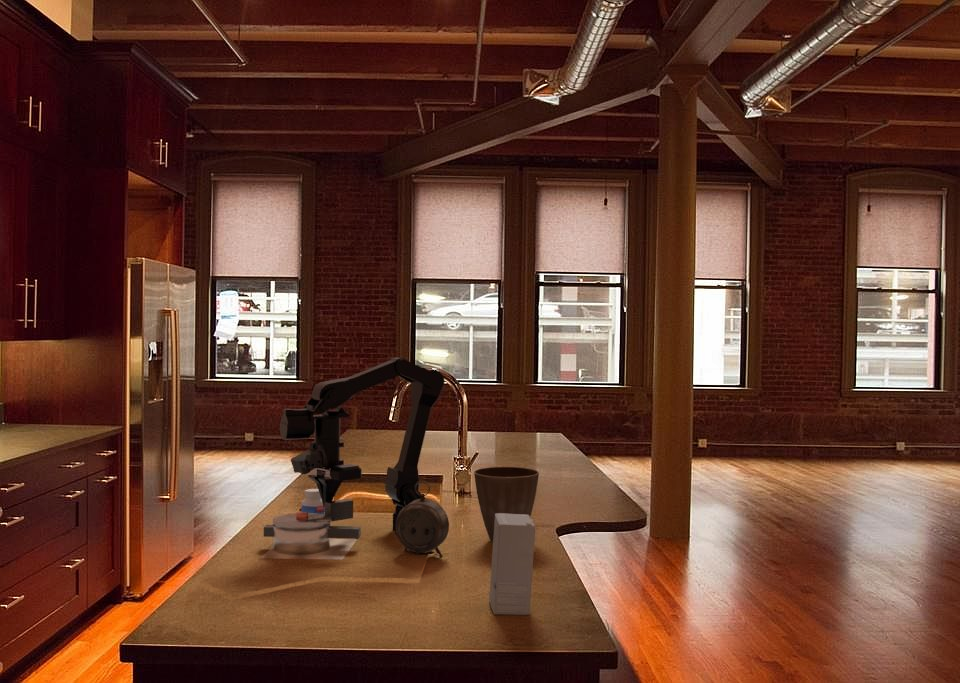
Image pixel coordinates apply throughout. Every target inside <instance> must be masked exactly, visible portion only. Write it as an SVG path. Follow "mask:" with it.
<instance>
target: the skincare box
mask: <svg viewBox="0 0 960 683" xmlns="http://www.w3.org/2000/svg"><path fill="white" fill-rule="evenodd" d="M533 521H534V519H533V518H531V516H529V515H525V514H507V513H496V514H495V523H494V537H493V542H492V551H491V553H492V554H491V567H490V583H489V584H490V585H489V595H488V597H489V598H488V599H489V604H490V607H491V611H492V613H493V615H517V616H519V615H520V616H522V615H523V616H525V615H530V614H531V601H532V600H531V599H532V598H531V597H532V584H533V583H532V582H533V568H534V554H535V542H536V540H535V538H536V525H535V524H534V522H533Z"/></svg>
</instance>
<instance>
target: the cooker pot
mask: <svg viewBox="0 0 960 683" xmlns="http://www.w3.org/2000/svg"><path fill="white" fill-rule="evenodd" d="M361 528H362V527H361V526H347V525H346V526H345V525H343V526H342V525H341V526H340V525H331V524H330V525H329V526H326V527H322V528H317V529H308V530H288V529H281V528H277V527H274V526H273V524H266V525H265V526H263V537H265V538H267V537H268V538H271V537H272V538H273V540H272V543H273V546H272V547H273V550H274V551H275V552H278V553H281V554H288V555H308V554H316V553H321V552H324V551H327V550H328V549H330V539H357V540H358V539H359V538H360V537H361V532H362V531H361Z"/></svg>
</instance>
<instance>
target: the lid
mask: <svg viewBox="0 0 960 683" xmlns="http://www.w3.org/2000/svg"><path fill="white" fill-rule="evenodd" d="M350 519H354V499H349V498H342V499H336V500H335V499H334V500H332V501H328V502H325V507H324V514H316V513H307V512H301V511H299V512H296V513H288V514H283V515H282V514H281V515H278V516H274V518H272V525H273V526H274V527H277V528H281V529H288V530H308V529H317V528H322V527H326V526H329V525H330V526H331V524H332V523H333V522H339V521H344V520H350Z"/></svg>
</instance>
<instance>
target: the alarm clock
mask: <svg viewBox="0 0 960 683" xmlns="http://www.w3.org/2000/svg"><path fill="white" fill-rule="evenodd" d="M418 483H419V484H420V483H425V484H426V485H427V486H428V491H427V493H423V492H421V494H418V492H417V490H416V486H417V484H418ZM430 489H431V486H430V484H429V483H428V482H427V481H425V480H419V482H417V483H416V485H415V491H416V493H417V494H418V495H420V496H421V498H420V499H417V500H414V501H412V502H411V503H409V504H408V505H407V506H405V507H404V508H403V509H402V510H401V511H400V513H399V514H398V516H397V519H396V531H395V533H396V536H397V538H398V541H399V542H400V543H401V544H402V546H404V549H403V551H408V550H409V551H411V552H413V553H415V556H420V554H426V553H430V552H432V551H435V552H436V553H437V554H438V555H439V557H440V558H443V554H442V553H441V550H440V548H439V546H441V545H443V543H444V541H445V540H446V539H447V537H448V534H449V530H450V522H449V517H448V515H447V513H446V511H445V510H444V508H443V507H442V506H441V505H440V504H439V503H438V502H436V501H434V500H432V499H429V498H426V499H424V497H425V496H426V497H427V495H428V494H429V493H430V491H431V490H430Z"/></svg>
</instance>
